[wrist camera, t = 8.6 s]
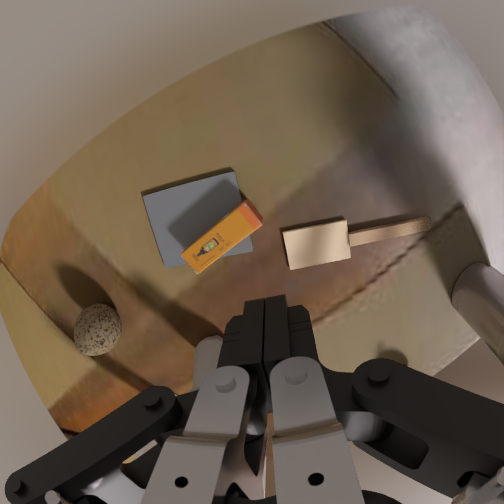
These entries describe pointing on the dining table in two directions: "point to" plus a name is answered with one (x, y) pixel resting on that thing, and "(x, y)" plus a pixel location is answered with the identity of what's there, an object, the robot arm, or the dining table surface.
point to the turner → (340, 240)
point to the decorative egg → (97, 330)
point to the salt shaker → (206, 359)
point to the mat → (192, 214)
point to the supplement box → (222, 236)
